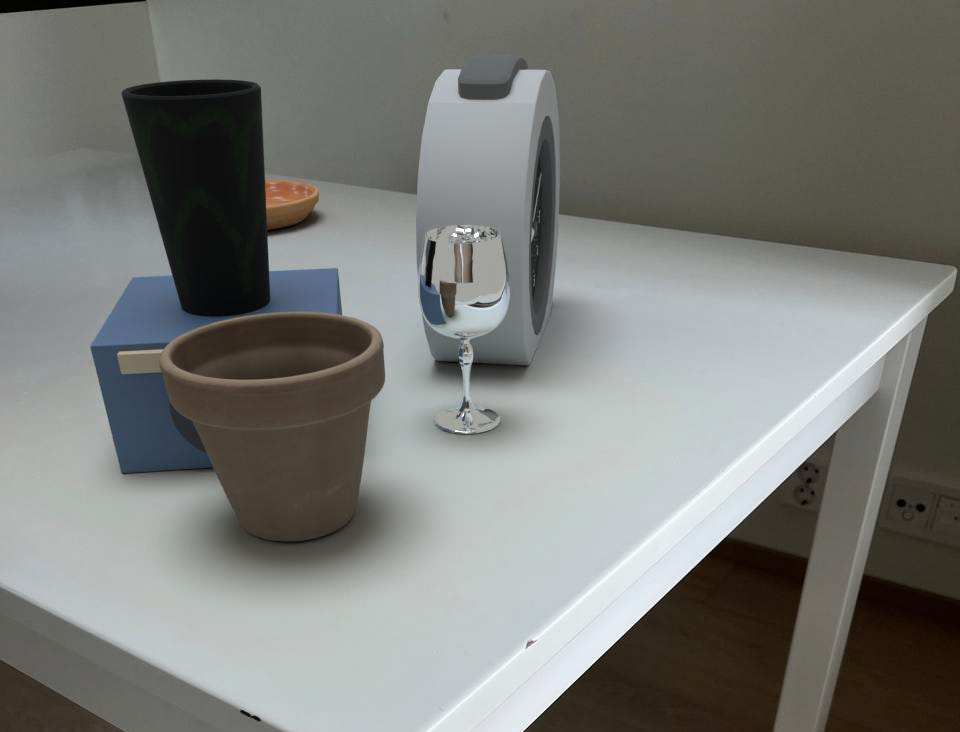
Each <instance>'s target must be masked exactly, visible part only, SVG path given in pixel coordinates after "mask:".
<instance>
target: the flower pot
mask: <svg viewBox="0 0 960 732" xmlns="http://www.w3.org/2000/svg"><path fill="white" fill-rule="evenodd" d="M384 348H385V346H384V339H383V336H382V333H381V332H380V330H378V329H377V328H376V327H375V326H373V325H372V324H371V323H369V322H366V321H364V320H362V319H359V318H355V317H352V316H347V315H343V314H342V315H338V314H330V313H320V312H277V313H264V314H257V315H249V316H243V317H237V318H232V319H227V320H223V321H219V322H215V323H212V324H208V325H205V326H202V327H199V328H196V329H194V330H192V331H189V332H187V333H185V334H183V335H181V336H179V337H177V338H176V339H174V340H173V341H171V342H170V343H169V344H168V345H167V346H166V347H165V348H164V349H163V350H162V352H161V354H160V358H159V364H160V369H161V371H162V374H163V378H164V382H165V386H166V390H167V394H168V397H169V400H170V403H171V405H172V406H173V407H174V409H175V410H176V411H177V412H179V413H180V414H181V415H183V416H184V417H186V418H188V419H190V420H192V422H193V424H194V426H195V428H196V430H197V432H198V434H199V436H200V438H201V441H202V443H203V445H204V447H205V450H206V452H207V454H208V456H209V459H210V461H211V463H212V465H213V468H212V469H213V470H214V472H215V475H216V477H217V479H218V482H219V484H220V486H221V488H222V490H223V492H224V494H225V496H226V498H227V500H228V502H229V504H230V507H231V508H232V510H233V512H234V514H235V516H236V517H237V519H238V521H239V523H240V525H241V526H242V528H243V529H245V531H246V532H248V533H249V534H251V535H253V536H255V537H258V538H261V539H264V540H269V541H274V542H302V541H308V540H313V539H317V538H321V537H324V536H327V535H330V534H332V533H334V532H336V531H338V530H340V529H341V528H343V527H344V526H345V525H347V523H349V522H350V521H351V519H352V518H353V517H354V514H355V513H356V508H357V504H358V499H359V494H360V487H361V483H362V482H361V481H362V476H363V469H364V462H365V453H366V444H367V437H368V436H367V435H368V427H369V419H370V411H371V405H372V401H373V400H374V399H375V398H376V397H377V396H378V395H379V394H380V393H381V391H382V389H383V388H384V385H385V382H386V366H385V365H386V364H385V353H384Z"/></svg>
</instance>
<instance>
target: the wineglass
mask: <svg viewBox="0 0 960 732" xmlns="http://www.w3.org/2000/svg"><path fill="white" fill-rule="evenodd" d="M417 295H418V303H419V307H420V311H421V315H422V314H423V316H424V318H425V320H426V322H427V323H428V324H429V325H430V326H431V328H432V329H434V330H435V331H437V332H438V333H440V334H442V335H444V336H446V337H449V338H452V339H456V340H461V345H460V346H459V353H458V356H459V362H458V363H459V364H460V367H461V368H460V369H461V372H462V385H463V387H462V389H463V391H462V392H463V393H462V395H463V397H462V402H461V405H459V406H455V407H451V408H447V409H444V410H442V411H441V412H439V413H438V414H436V416H435V418H434V424H435V426H436V427H437V428H439V429H440V430H442V431H444V432H449V433H452V434H458V435H472V434H473V435H474V434H480V433H485V432H488V431H491V430H493V429H495V428H497V427H498V426H499V425H500V423H501V416H500V414H499V413H498V412H496V411H494V410H492V409H490V408H487V407H483V406H476V405H474V403H473V401H472V396H471V372H472V364H473V363H472V362H473V355H474V354H473V348H472V346H471V344H470V340H472V339H477V338H480V337H482V336H485V335H487V334H489V333H491V332H492V331H494V330H495V329H496V328H497V327H498V326H499V325H500V324H501V323H502V321H503V320H504V318H505V316H506V314H507V311H508V308H509V301H510V276H509V268H508V262H507V257H506V253H505V248H504V244H503V240H502V236H501V232H500V231H499V230H497V229H495V228H492V227H487V226H481V225H451V226H444V227H438V228H435V229H432V230H429V231H427V232H426V233H425V236H424V241H423V247H422V252H421V258H420V265H419V275H418V274H417Z"/></svg>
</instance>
